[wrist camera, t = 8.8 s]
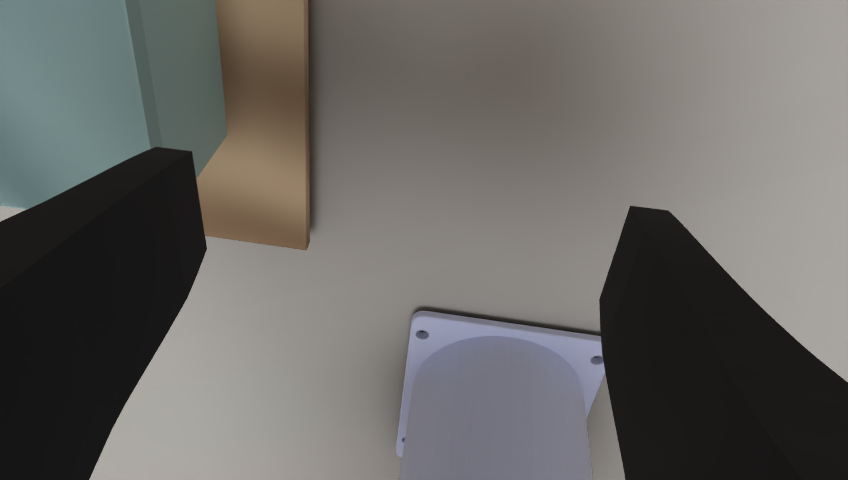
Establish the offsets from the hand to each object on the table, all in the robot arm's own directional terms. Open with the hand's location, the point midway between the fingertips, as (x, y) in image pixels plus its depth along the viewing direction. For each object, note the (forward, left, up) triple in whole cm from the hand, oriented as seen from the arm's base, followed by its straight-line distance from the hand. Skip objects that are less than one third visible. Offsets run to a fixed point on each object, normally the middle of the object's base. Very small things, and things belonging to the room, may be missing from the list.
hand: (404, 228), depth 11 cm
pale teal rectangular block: (-1, +9, -9) cm, 13 cm away
